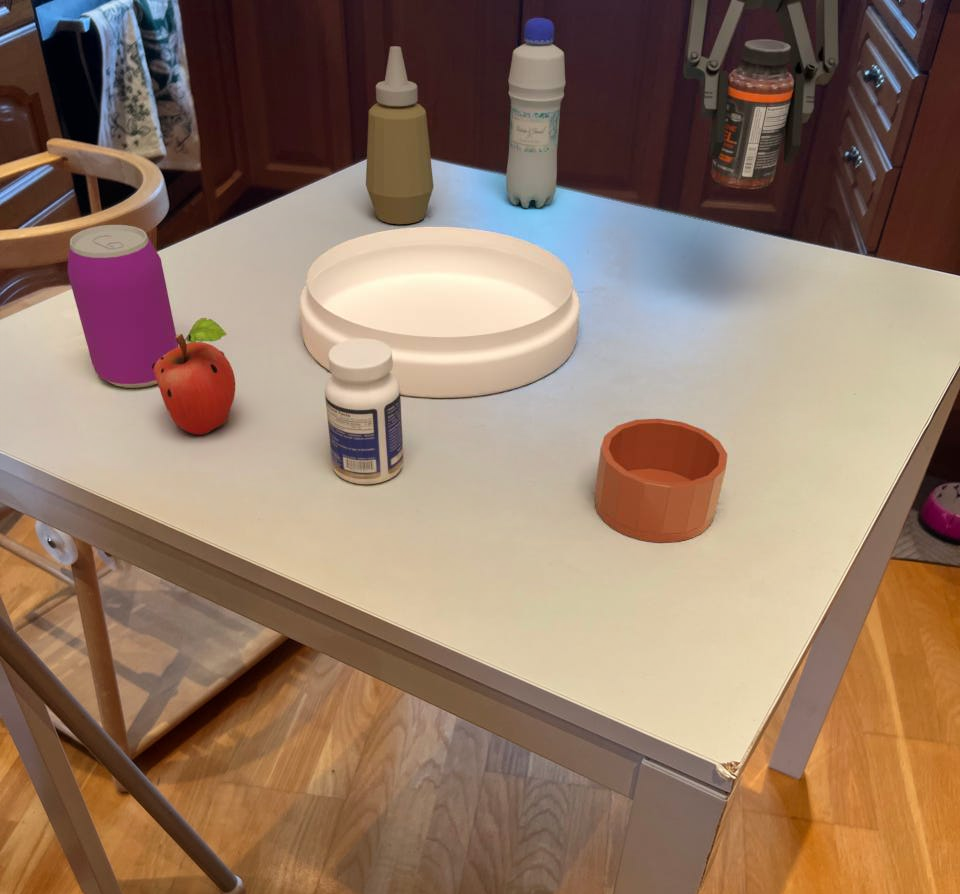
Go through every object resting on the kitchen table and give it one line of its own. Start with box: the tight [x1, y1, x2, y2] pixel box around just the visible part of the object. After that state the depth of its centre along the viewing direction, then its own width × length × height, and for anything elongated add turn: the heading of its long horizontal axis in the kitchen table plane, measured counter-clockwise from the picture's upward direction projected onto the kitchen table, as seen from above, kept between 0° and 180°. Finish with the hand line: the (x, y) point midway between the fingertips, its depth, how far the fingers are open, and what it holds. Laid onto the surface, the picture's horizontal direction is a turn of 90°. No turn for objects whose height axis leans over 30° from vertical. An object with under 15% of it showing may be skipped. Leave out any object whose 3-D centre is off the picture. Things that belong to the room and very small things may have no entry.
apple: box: [152, 317, 236, 436], centre depth 78 cm, size 8×7×10 cm
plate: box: [299, 226, 581, 399], centre depth 94 cm, size 27×27×6 cm
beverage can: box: [67, 224, 179, 389], centre depth 84 cm, size 8×8×12 cm
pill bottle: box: [324, 338, 404, 485], centre depth 75 cm, size 6×6×10 cm
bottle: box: [505, 17, 567, 209], centre depth 116 cm, size 7×7×20 cm
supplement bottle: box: [710, 38, 794, 190], centre depth 88 cm, size 6×6×11 cm
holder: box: [594, 418, 728, 544], centre depth 73 cm, size 9×9×5 cm
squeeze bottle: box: [365, 45, 435, 225], centre depth 112 cm, size 8×8×18 cm
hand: (754, 152), depth 87 cm, fingers closed on supplement bottle, 6 cm apart
